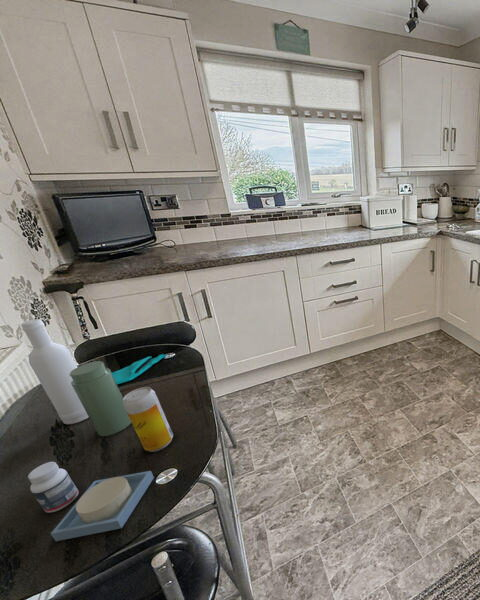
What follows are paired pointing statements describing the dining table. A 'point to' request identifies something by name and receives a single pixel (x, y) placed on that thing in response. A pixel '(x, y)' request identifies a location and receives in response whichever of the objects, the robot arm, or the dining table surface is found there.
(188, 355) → the dining table surface
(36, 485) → the pill bottle
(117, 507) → the flask lid
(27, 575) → the dining table surface
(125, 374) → the turquoise rubber glove
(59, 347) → the bottle
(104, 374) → the flask
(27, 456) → the dining table surface
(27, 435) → the dining table surface
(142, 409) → the beer can
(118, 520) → the dish
